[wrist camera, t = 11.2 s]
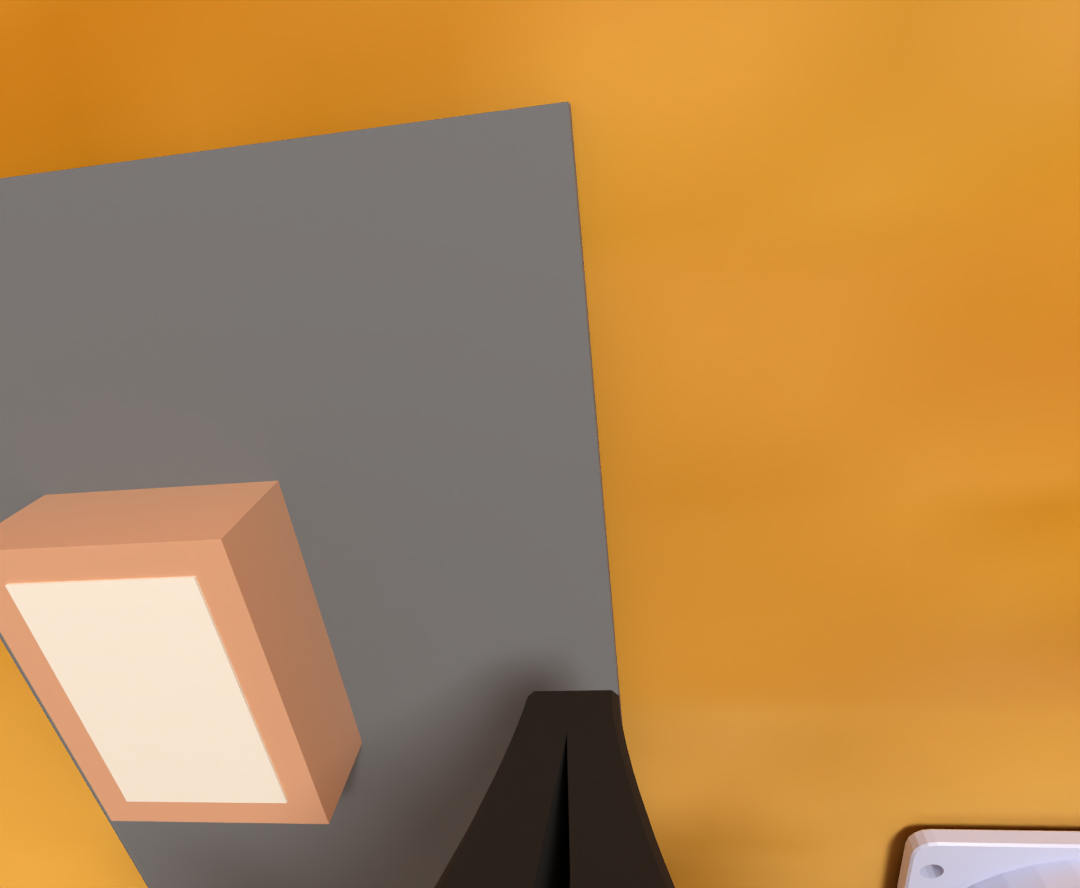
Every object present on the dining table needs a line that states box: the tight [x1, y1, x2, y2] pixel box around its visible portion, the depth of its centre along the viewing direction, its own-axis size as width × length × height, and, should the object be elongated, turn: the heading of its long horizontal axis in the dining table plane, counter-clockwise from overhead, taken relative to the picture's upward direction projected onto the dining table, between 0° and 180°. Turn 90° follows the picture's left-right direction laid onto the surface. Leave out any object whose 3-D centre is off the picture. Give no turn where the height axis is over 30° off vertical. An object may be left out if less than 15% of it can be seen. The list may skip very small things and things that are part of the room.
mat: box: [0, 102, 622, 888], centre depth 14 cm, size 20×14×1 cm
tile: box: [0, 481, 362, 824], centre depth 13 cm, size 7×2×5 cm
